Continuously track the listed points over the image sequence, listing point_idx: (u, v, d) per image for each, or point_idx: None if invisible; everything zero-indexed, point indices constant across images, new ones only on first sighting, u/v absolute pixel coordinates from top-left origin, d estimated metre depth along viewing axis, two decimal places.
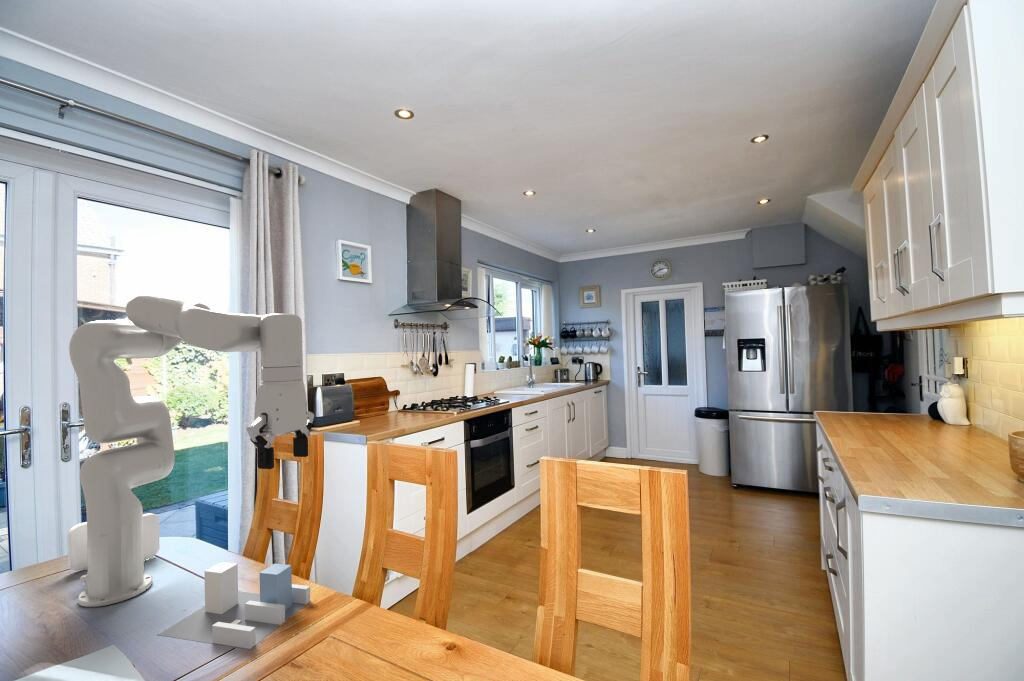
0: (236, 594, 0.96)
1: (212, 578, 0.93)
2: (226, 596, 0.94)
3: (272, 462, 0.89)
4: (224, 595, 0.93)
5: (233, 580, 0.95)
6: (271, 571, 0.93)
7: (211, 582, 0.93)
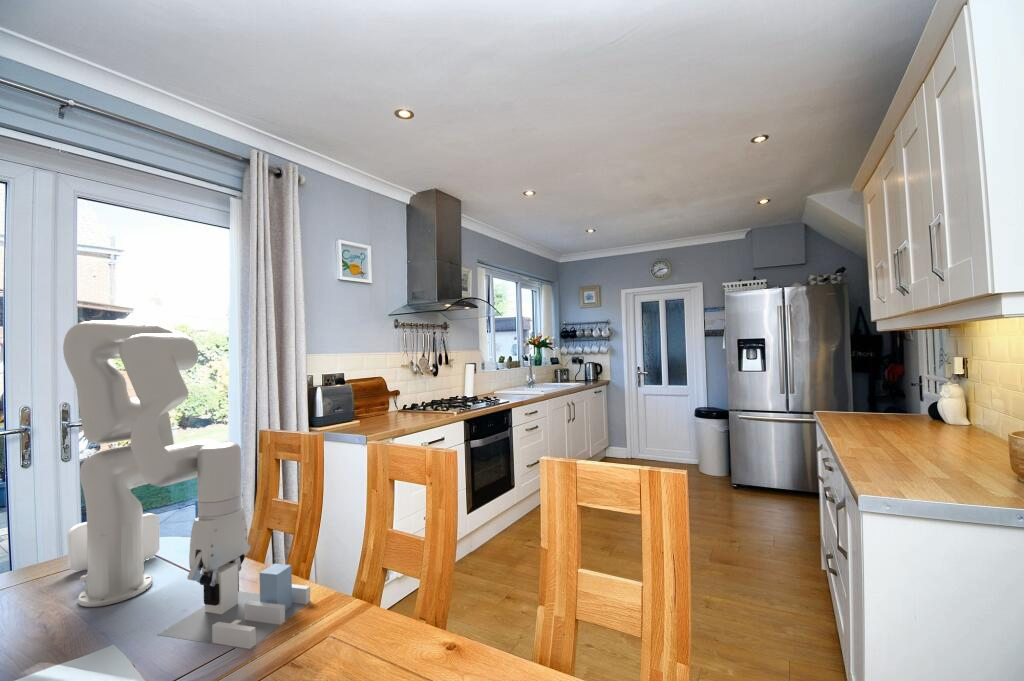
0: (236, 594, 0.96)
1: None
2: (226, 596, 0.94)
3: (217, 599, 0.92)
4: (224, 595, 0.93)
5: (233, 580, 0.95)
6: (271, 571, 0.93)
7: None
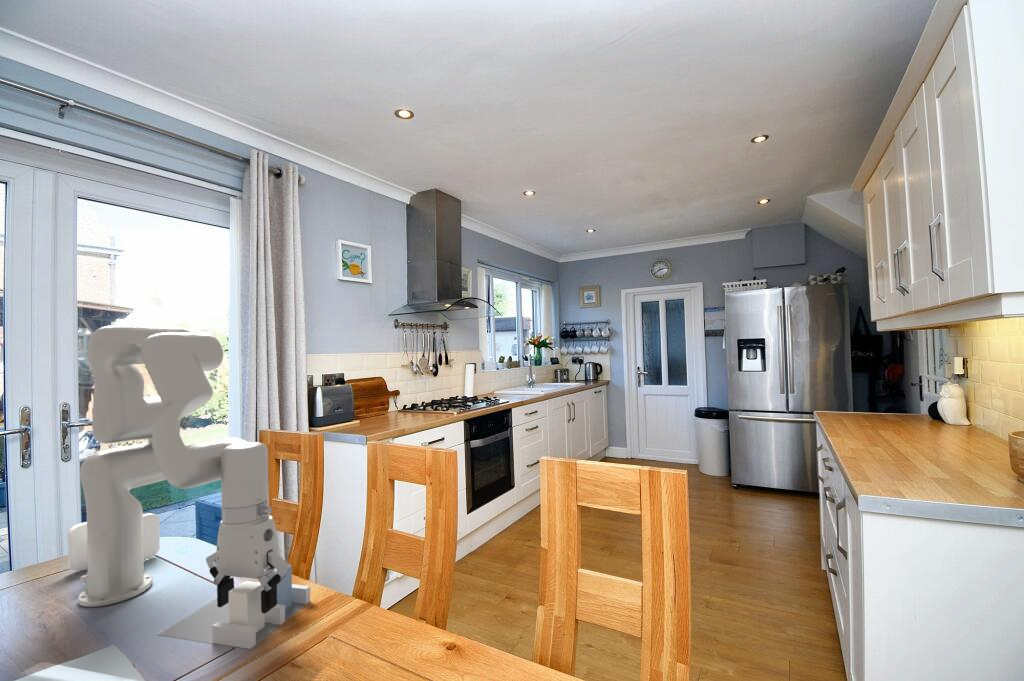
0: None
1: None
2: (234, 621, 0.85)
3: (218, 601, 0.86)
4: (232, 619, 0.85)
5: (242, 609, 0.84)
6: None
7: None
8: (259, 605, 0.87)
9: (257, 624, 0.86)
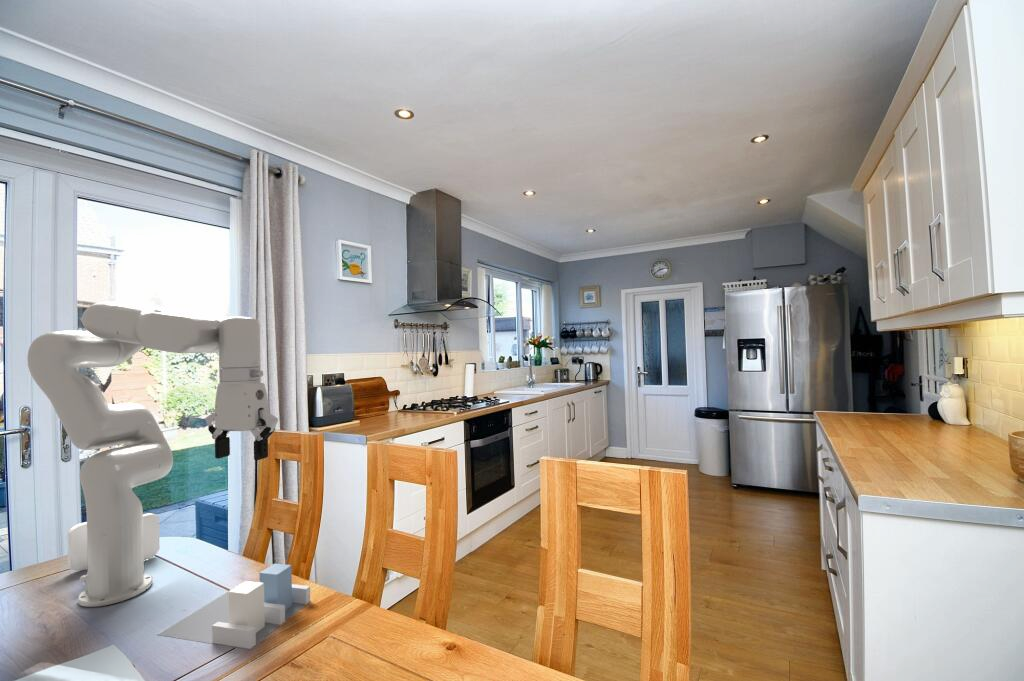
0: None
1: None
2: (234, 621, 0.85)
3: (215, 453, 0.99)
4: (232, 619, 0.85)
5: (242, 609, 0.84)
6: (271, 571, 0.93)
7: None
8: (259, 605, 0.87)
9: (257, 624, 0.86)
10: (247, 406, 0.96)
